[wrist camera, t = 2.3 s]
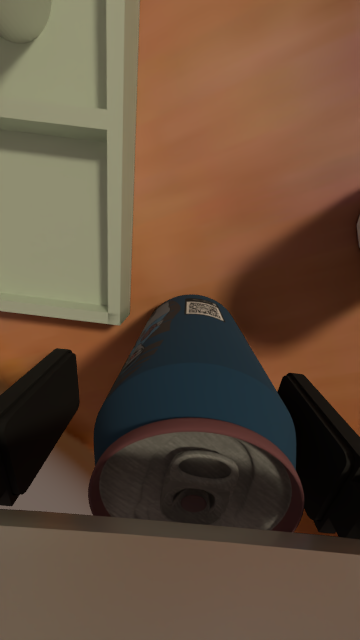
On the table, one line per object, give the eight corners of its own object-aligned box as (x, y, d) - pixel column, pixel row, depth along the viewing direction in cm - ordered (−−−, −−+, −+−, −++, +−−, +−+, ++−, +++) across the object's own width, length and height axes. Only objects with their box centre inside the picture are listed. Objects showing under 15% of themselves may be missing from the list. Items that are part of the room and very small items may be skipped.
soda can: (220, 376, 18) (273, 594, 7) (142, 361, 18) (62, 558, 7) (245, 301, 16) (388, 441, 4) (155, 282, 16) (65, 378, 4)
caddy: (129, 313, 16) (119, 325, 14) (-21, 295, 16) (-56, 304, 14) (145, -166, 9) (129, -314, 7) (-130, -199, 9) (-244, -356, 7)
